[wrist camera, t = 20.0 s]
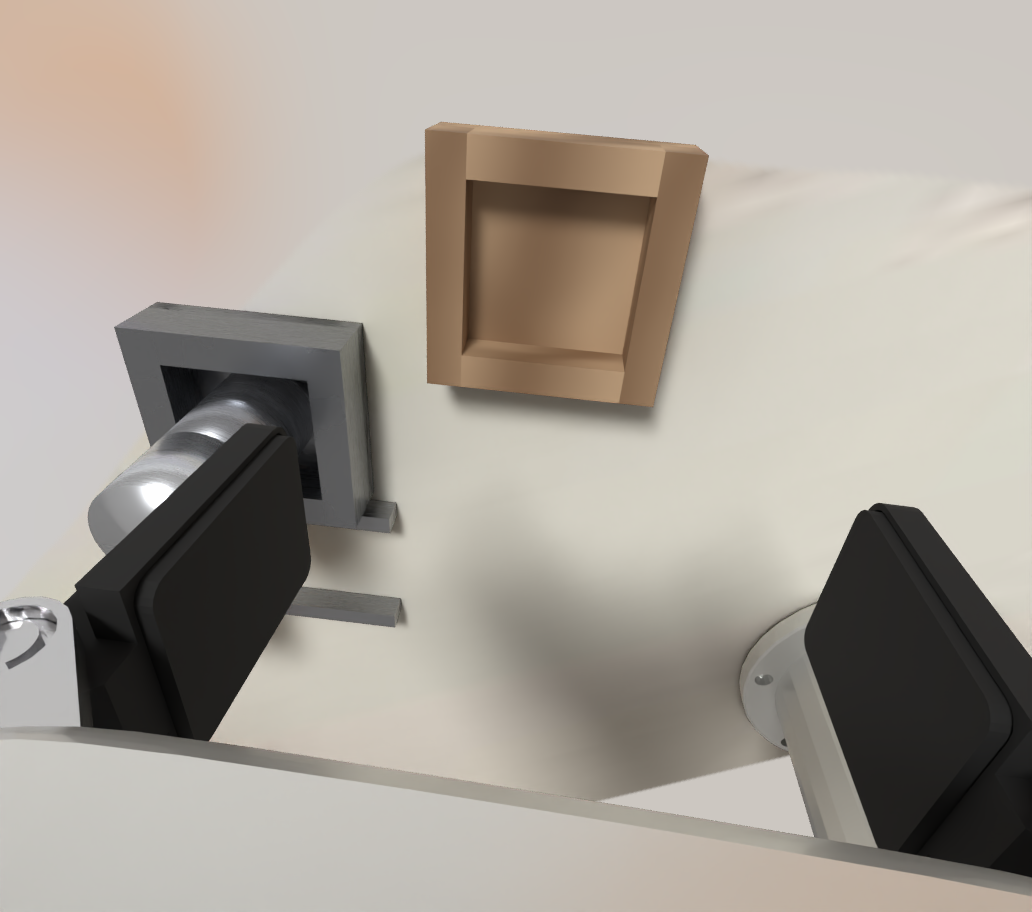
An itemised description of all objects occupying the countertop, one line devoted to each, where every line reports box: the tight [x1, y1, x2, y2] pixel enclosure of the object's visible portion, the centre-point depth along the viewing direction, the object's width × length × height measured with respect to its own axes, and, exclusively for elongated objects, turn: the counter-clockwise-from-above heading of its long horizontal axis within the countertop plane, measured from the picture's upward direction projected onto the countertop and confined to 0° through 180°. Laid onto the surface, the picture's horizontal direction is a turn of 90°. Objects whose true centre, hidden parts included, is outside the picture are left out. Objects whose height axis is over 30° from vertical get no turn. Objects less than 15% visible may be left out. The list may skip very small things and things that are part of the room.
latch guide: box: [106, 472, 401, 627], centre depth 30 cm, size 13×7×1 cm, turn 86°
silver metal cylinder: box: [88, 373, 314, 555], centre depth 22 cm, size 4×4×8 cm
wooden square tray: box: [425, 122, 709, 407], centre depth 20 cm, size 8×8×2 cm
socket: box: [114, 302, 374, 528], centre depth 25 cm, size 8×8×3 cm
